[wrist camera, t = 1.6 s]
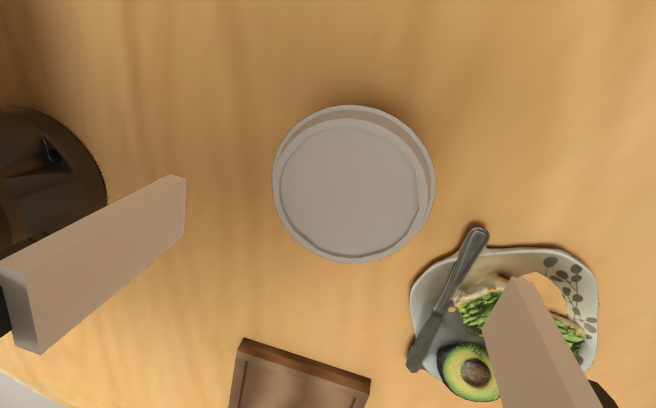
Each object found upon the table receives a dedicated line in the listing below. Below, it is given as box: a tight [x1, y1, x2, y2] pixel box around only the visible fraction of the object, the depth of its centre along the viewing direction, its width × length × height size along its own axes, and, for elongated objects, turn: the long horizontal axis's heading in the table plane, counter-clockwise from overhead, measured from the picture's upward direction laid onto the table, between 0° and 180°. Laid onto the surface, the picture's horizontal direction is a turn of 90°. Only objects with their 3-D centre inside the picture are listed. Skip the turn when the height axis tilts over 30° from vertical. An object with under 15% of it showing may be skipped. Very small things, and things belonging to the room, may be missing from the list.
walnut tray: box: [228, 338, 371, 408], centre depth 44 cm, size 16×16×2 cm
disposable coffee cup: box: [272, 105, 436, 264], centre depth 24 cm, size 10×10×12 cm
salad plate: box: [406, 227, 600, 402], centre depth 32 cm, size 19×18×5 cm
